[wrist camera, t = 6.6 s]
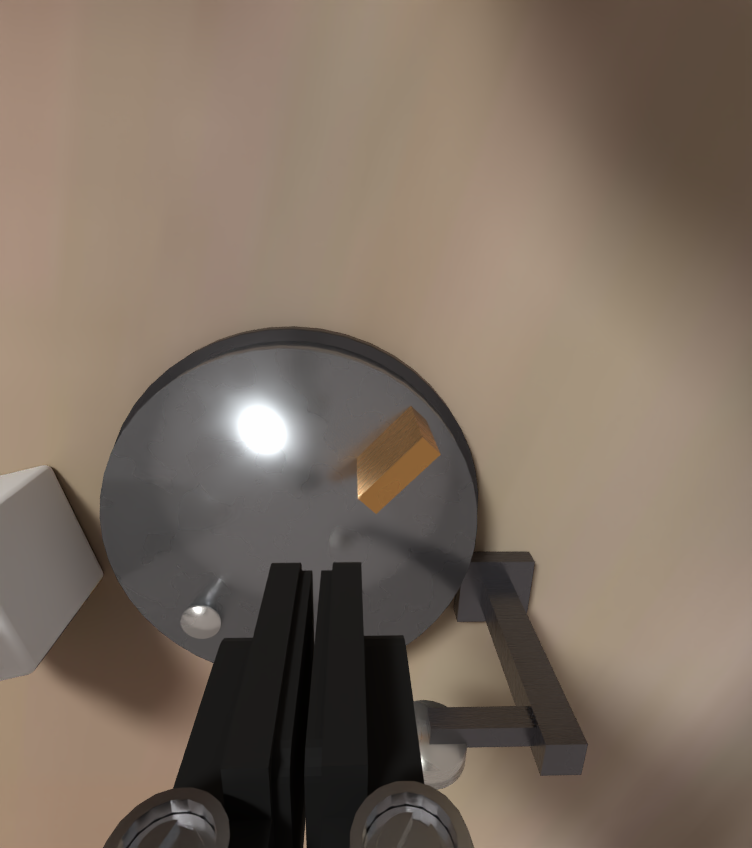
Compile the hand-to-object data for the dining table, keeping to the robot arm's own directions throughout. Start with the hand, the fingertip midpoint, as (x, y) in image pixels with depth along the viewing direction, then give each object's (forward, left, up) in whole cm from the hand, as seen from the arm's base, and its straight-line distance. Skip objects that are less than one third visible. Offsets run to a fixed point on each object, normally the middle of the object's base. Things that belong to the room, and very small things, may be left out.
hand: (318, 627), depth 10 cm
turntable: (+7, -2, -16) cm, 17 cm away
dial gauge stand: (+12, +7, -17) cm, 22 cm away
